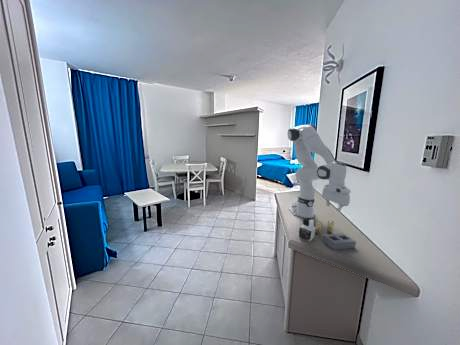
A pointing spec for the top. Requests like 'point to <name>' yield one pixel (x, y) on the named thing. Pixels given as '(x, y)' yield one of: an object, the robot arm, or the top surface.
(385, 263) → the top surface
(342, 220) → the top surface
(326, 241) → the block
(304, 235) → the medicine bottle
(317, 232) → the pin
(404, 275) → the top surface
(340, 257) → the top surface
